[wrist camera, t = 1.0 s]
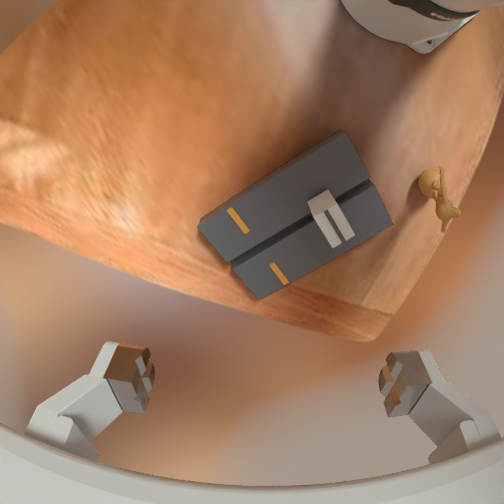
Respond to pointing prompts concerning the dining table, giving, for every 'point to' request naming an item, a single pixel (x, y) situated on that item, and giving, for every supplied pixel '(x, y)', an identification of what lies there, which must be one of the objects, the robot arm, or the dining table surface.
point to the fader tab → (330, 218)
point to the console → (295, 216)
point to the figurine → (438, 195)
